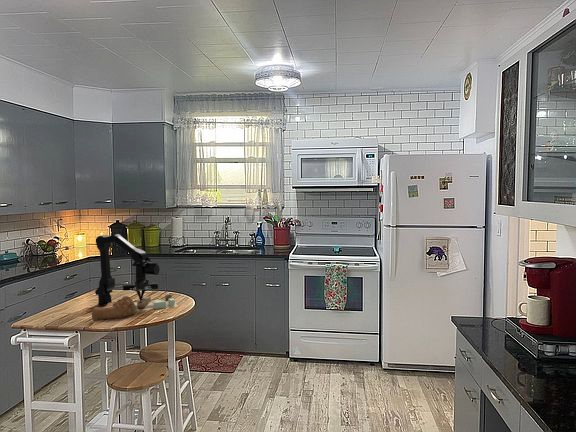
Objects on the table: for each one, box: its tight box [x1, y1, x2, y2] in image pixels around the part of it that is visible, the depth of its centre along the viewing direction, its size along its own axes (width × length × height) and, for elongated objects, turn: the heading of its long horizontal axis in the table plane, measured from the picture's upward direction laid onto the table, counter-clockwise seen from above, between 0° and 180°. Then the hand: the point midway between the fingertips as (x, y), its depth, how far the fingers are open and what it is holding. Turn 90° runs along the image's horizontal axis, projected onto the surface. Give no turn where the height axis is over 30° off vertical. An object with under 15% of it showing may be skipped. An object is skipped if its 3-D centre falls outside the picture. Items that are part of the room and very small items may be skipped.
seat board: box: [133, 293, 179, 312], centre depth 264 cm, size 23×21×4 cm
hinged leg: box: [136, 295, 152, 309], centre depth 261 cm, size 16×4×4 cm, turn 2°
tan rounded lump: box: [91, 295, 137, 322], centre depth 240 cm, size 19×11×15 cm
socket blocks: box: [154, 297, 176, 310], centre depth 259 cm, size 11×7×3 cm, turn 114°
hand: (140, 301), depth 265 cm, fingers closed
